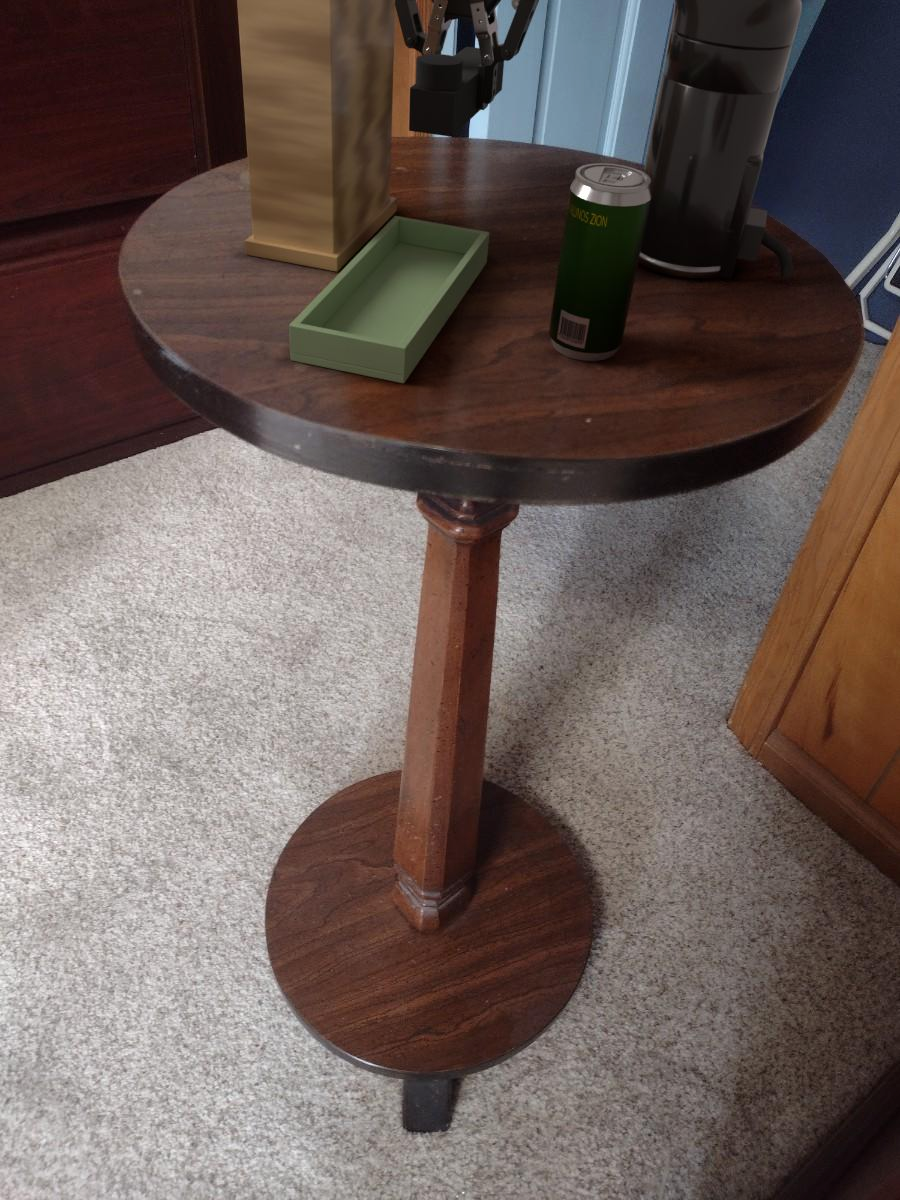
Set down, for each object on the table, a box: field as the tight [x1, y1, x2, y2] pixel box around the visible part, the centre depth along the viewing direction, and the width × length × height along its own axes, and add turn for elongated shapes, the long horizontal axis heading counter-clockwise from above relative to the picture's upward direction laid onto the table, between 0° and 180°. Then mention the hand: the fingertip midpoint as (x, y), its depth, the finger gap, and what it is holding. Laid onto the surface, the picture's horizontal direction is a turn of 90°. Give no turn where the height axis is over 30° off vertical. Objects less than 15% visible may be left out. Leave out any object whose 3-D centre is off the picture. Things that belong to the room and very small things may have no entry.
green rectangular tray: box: [288, 215, 490, 384], centre depth 73 cm, size 22×8×3 cm, turn 164°
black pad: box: [408, 46, 505, 138], centre depth 90 cm, size 18×4×6 cm, turn 163°
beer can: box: [548, 162, 651, 362], centre depth 67 cm, size 5×5×12 cm
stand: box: [236, 0, 398, 273], centre depth 74 cm, size 15×8×30 cm, turn 164°
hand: (459, 103), depth 91 cm, fingers closed on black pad, 4 cm apart
